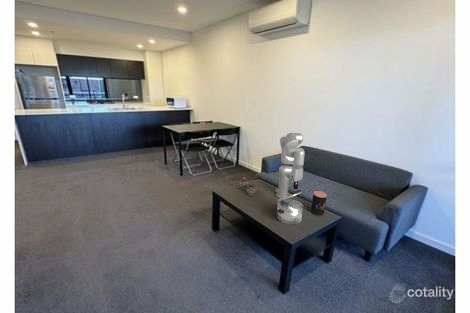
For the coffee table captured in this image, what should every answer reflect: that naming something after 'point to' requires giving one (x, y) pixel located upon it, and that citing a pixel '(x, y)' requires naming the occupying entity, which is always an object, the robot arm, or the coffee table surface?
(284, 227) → the coffee table surface
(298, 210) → the cooker pot
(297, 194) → the cooker lid
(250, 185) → the pottery
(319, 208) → the coffee jar
